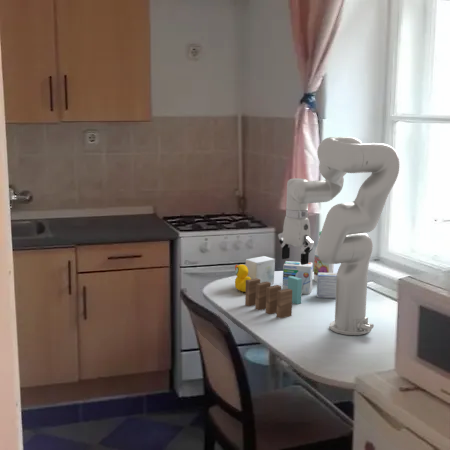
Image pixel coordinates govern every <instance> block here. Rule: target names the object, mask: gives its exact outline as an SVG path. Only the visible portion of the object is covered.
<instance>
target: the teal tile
mask: <svg viewBox="0 0 450 450" xmlns="http://www.w3.org/2000/svg"><path fill="white" fill-rule="evenodd" d="M288 289H291V290H292V304H295V305H300V304H302V294H301V289H302V279H300V278H297V277H294V276H290V277H288Z"/></svg>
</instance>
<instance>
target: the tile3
mask: <svg viewBox="0 0 450 450" xmlns="http://www.w3.org/2000/svg"><path fill="white" fill-rule="evenodd" d="M270 286H272V285H271V283H270V282H262V283H257V284H256V300H255V305H254V306H255V307H254V309H255V310H257V311H262V310H266V287H270Z"/></svg>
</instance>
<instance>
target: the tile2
mask: <svg viewBox="0 0 450 450" xmlns="http://www.w3.org/2000/svg"><path fill="white" fill-rule="evenodd" d="M279 290H282V286H281V285H279V284H274V285H271V286H270V287H266V309H265V314H268V315H272V314H277V291H279Z"/></svg>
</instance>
